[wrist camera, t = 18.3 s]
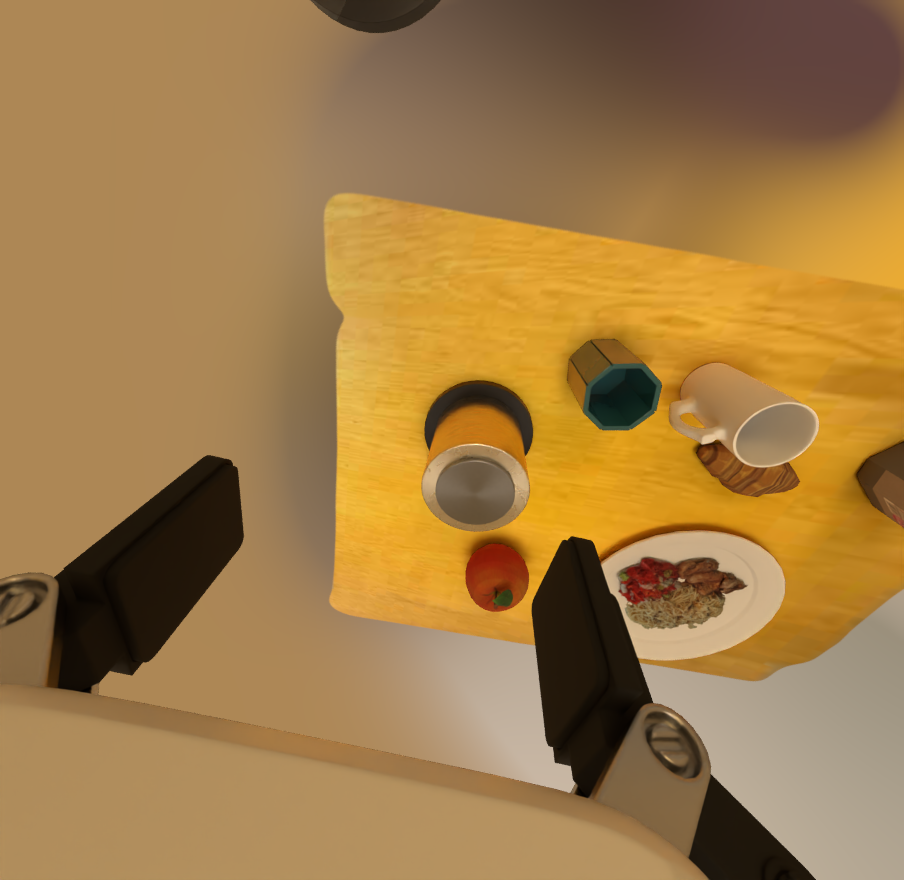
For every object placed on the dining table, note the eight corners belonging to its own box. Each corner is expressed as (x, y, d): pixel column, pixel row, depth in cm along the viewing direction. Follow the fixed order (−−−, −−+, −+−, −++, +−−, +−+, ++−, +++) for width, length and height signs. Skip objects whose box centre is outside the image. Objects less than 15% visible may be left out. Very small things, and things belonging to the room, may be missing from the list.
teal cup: (604, 326, 42) (631, 348, 34) (642, 368, 44) (675, 398, 36) (555, 369, 45) (569, 399, 37) (592, 407, 47) (613, 442, 39)
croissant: (678, 467, 50) (696, 489, 45) (711, 424, 47) (734, 444, 42) (768, 497, 51) (794, 522, 47) (806, 457, 48) (838, 480, 43)
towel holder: (478, 357, 45) (474, 403, 33) (554, 431, 49) (575, 497, 37) (404, 430, 51) (378, 492, 39) (478, 491, 55) (475, 564, 43)
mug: (743, 354, 42) (826, 395, 32) (737, 408, 45) (811, 461, 35) (647, 372, 44) (696, 416, 34) (647, 423, 47) (692, 477, 37)
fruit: (456, 562, 62) (450, 616, 53) (484, 524, 58) (483, 576, 49) (506, 584, 63) (509, 640, 55) (537, 548, 59) (546, 603, 50)
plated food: (718, 661, 68) (728, 681, 66) (555, 634, 69) (558, 652, 66) (820, 541, 54) (839, 560, 51) (612, 507, 54) (619, 523, 51)
